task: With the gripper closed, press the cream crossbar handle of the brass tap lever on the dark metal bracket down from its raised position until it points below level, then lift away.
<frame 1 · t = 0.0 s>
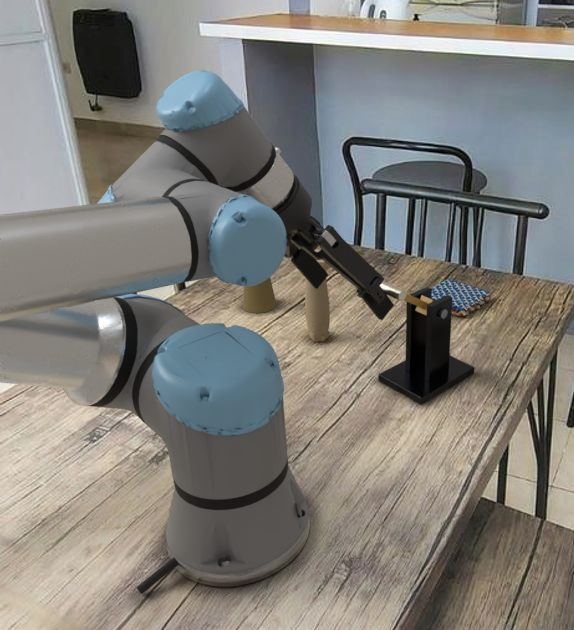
hand: (352, 296, 95), 15 cm above the table, tool tilted 35°, fingers open, 13 cm apart
bracket: (426, 377, 104), on the table
handle: (319, 339, 115), on the table
olive pawn shaped figure: (259, 306, 125), on the table
lever: (408, 298, 95), point 15 cm above the table, hinge at 34.2°, touching gripper
woven mat: (455, 303, 128), on the table
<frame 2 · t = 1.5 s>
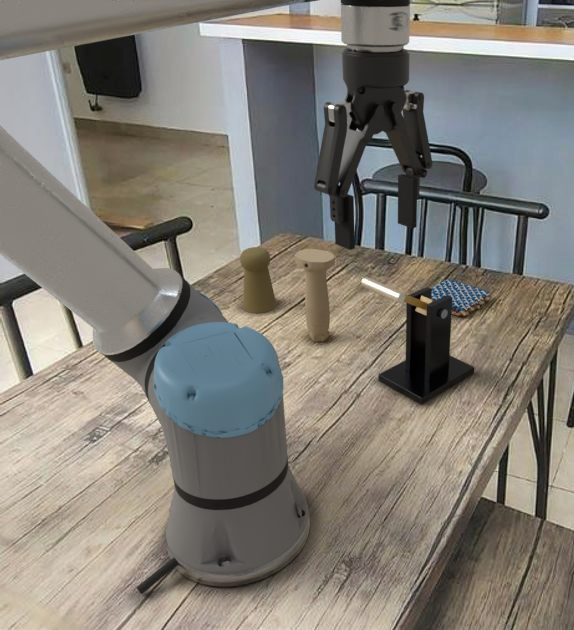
hand: (377, 235, 86), 26 cm above the table, tool pointing down, fingers open, 10 cm apart
lever: (408, 299, 95), point 15 cm above the table, hinge at 32.4°
everything else where it was.
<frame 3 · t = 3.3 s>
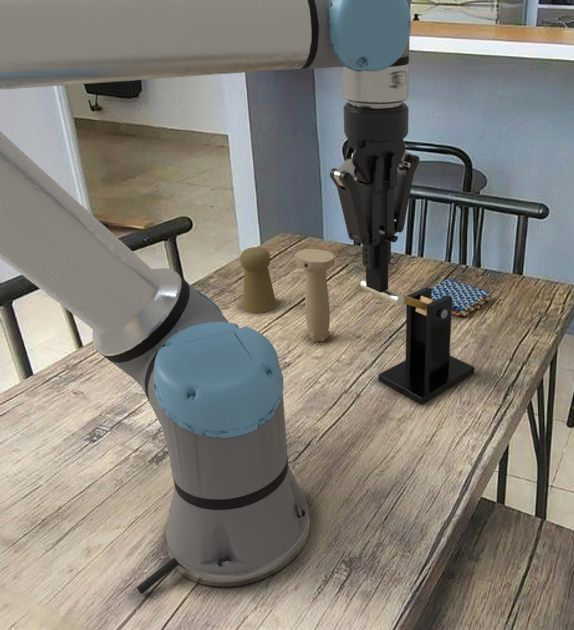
hand: (377, 287, 89), 19 cm above the table, tool pointing down, fingers closed
lever: (408, 300, 95), point 15 cm above the table, hinge at 30.5°, touching gripper
everything else where it was.
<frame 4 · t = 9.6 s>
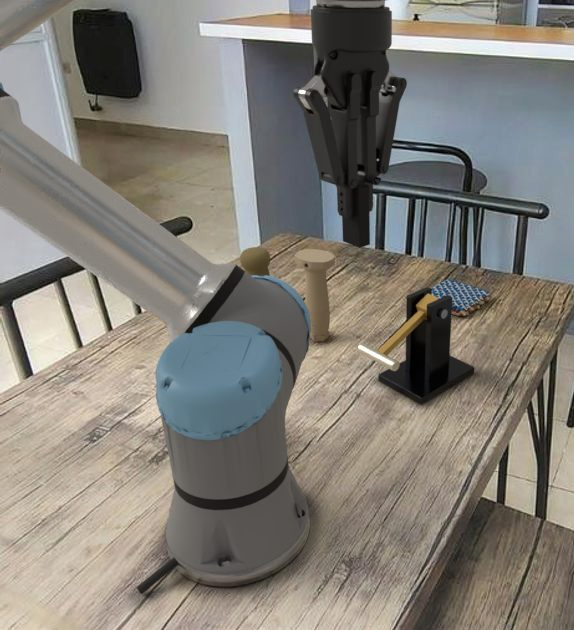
hand: (356, 242, 74), 29 cm above the table, tool pointing down, fingers closed
lever: (405, 330, 97), point 10 cm above the table, hinge at -21.7°
everything else where it was.
at the end: lever at -22° (first picture: +34°); handle moved 0.2 cm from its start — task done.
